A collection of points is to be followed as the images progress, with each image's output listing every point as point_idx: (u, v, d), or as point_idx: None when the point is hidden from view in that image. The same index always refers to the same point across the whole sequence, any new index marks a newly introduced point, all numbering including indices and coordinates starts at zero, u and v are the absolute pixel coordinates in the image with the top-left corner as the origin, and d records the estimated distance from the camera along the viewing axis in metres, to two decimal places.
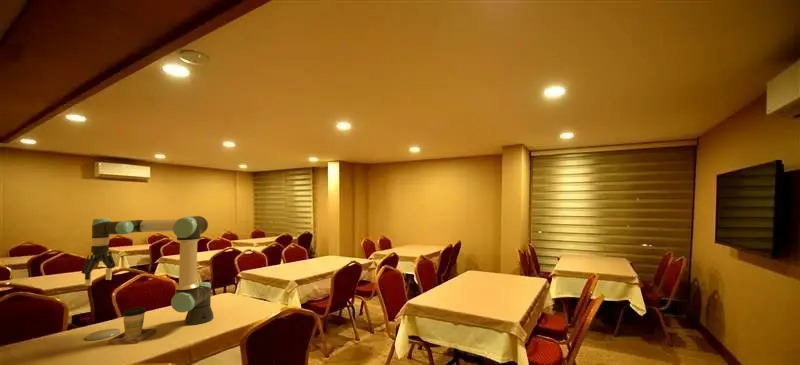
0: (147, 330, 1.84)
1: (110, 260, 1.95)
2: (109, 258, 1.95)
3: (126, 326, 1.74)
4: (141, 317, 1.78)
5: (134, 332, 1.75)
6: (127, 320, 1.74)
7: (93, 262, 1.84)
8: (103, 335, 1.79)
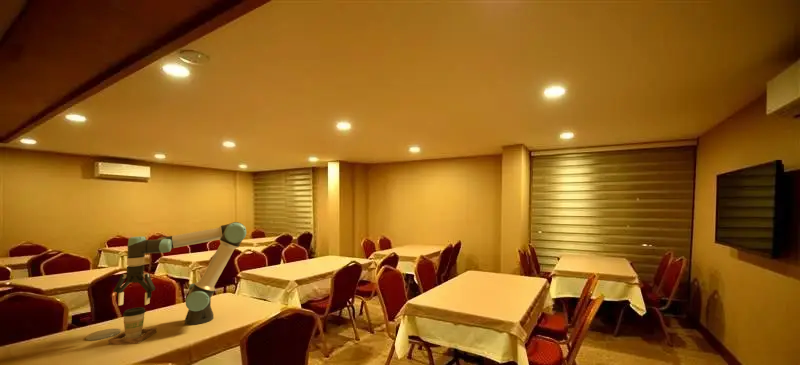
0: (147, 330, 1.84)
1: None
2: None
3: (126, 326, 1.74)
4: (141, 317, 1.78)
5: (134, 332, 1.75)
6: (127, 320, 1.74)
7: None
8: (103, 335, 1.79)
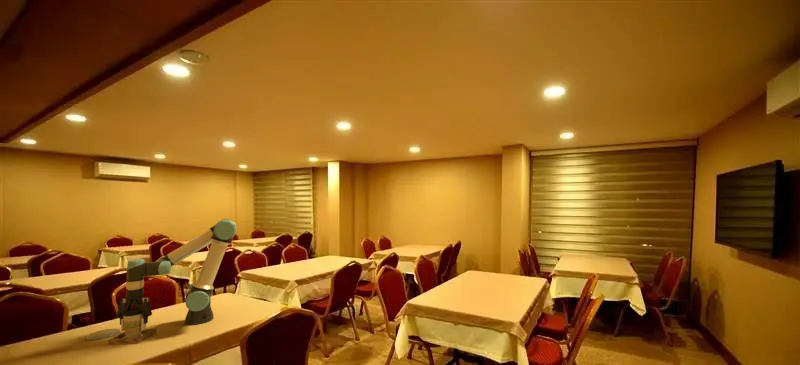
0: (147, 330, 1.84)
1: None
2: None
3: (126, 326, 1.74)
4: (141, 317, 1.78)
5: (134, 332, 1.75)
6: (126, 320, 1.74)
7: None
8: (103, 335, 1.79)
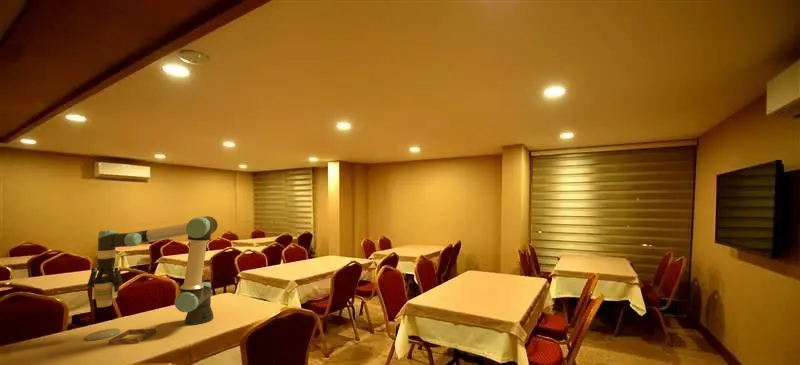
0: (147, 330, 1.84)
1: None
2: None
3: (97, 293, 1.79)
4: (112, 285, 1.83)
5: (105, 299, 1.80)
6: (97, 288, 1.79)
7: None
8: (103, 335, 1.79)
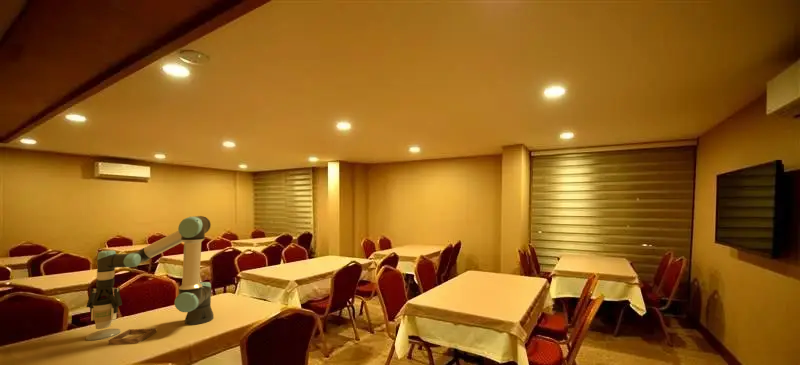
0: (147, 330, 1.84)
1: None
2: None
3: (96, 315, 1.78)
4: (111, 306, 1.82)
5: (104, 321, 1.80)
6: (96, 309, 1.78)
7: None
8: (103, 335, 1.79)
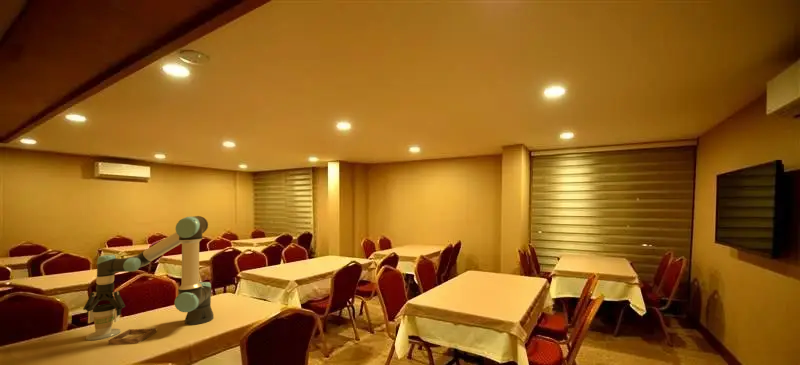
0: (147, 330, 1.84)
1: None
2: None
3: (96, 322, 1.78)
4: (111, 313, 1.82)
5: (104, 327, 1.79)
6: (96, 316, 1.78)
7: None
8: (103, 335, 1.79)
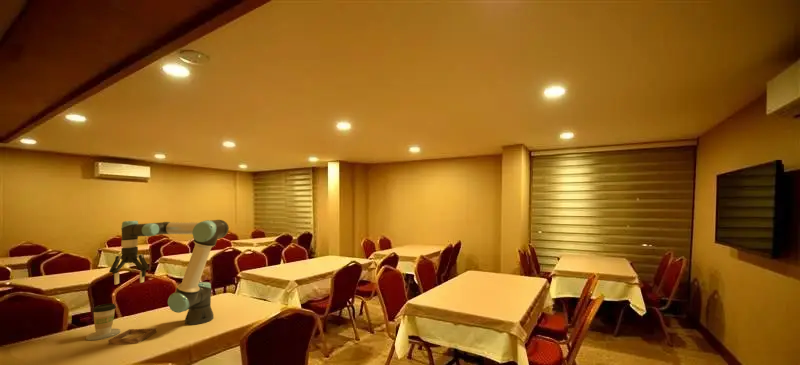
0: (147, 330, 1.84)
1: None
2: None
3: (96, 322, 1.78)
4: (111, 313, 1.82)
5: (104, 327, 1.80)
6: (96, 316, 1.78)
7: None
8: (103, 335, 1.79)
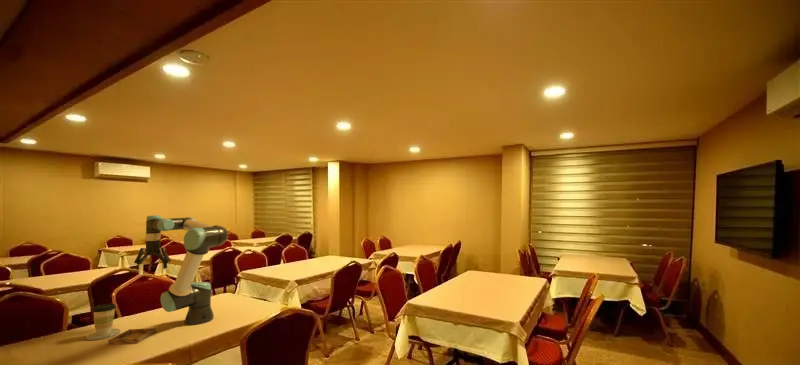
0: (147, 330, 1.84)
1: None
2: None
3: (96, 321, 1.78)
4: (111, 313, 1.82)
5: (104, 327, 1.80)
6: (96, 316, 1.78)
7: None
8: (103, 335, 1.79)
